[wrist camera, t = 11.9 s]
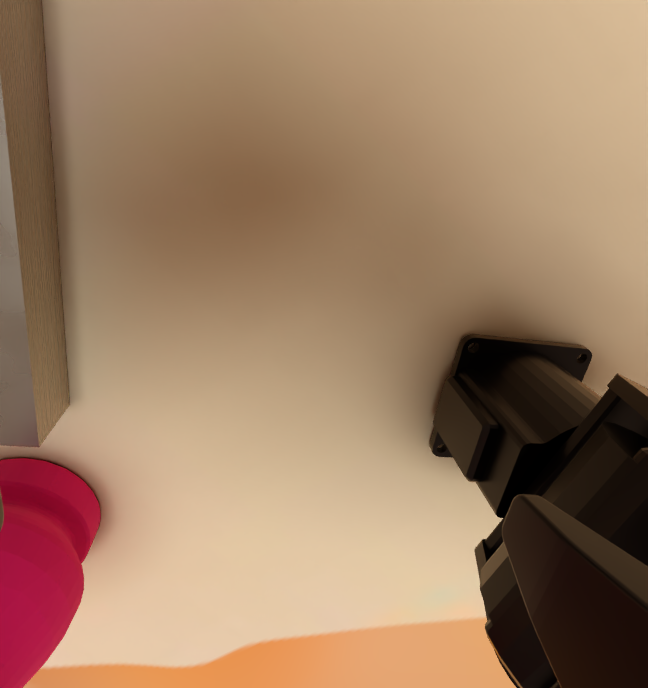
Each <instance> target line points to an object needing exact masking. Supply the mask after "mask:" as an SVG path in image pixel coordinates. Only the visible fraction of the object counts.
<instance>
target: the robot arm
mask: <svg viewBox="0 0 648 688" xmlns="http://www.w3.org/2000/svg"><path fill="white" fill-rule="evenodd" d="M471 343H475V346H474V347H473V348H472V349H468V347H469V345H470V344H471ZM580 354H581V357H580V358H578V359H577V357H578V356H579V355H580ZM591 358H592V353H591V352H590V350H588V349H587V348H585V347H584V346H581V345H572V344H563V343H553V342H543V341H534V340H524V339H515V338H505V337H496V336H486V335H477V334H469V335H467V336H465V337H464V338H463V339H462V340H461V342H460V344H459V347H458V350H457V354H456V357H455V360H454V364H453V367H452V371H451V374H450V376H449V377H448V378H447V379H446V380H445V383H444V387H443V390H442V394H441V397H440V400H439V404H438V407H437V411H436V414H435V417H434V421H433V424H434V426H435V427H434V431H433V434H432V438H431V441H430V448H431V450H432V452H433V454H434V455H436V456H439V457H453V458H454V459H455V461H456V463H457V464H458V466H459V468H460V469H461V471H462V473H463V475H464V476H465V477H466V479H467V480H468V481H469V482H476V483H477V485H478V487H479V488H480V490H481V491H482V493H483V495H484V496H485V498H486V499H487V501H488V503H489V504H490V506H491V507H492V509H493V511H494V512H495V514H496V515H497V517H500V518H503V519H502V521H501V522H500V523H499V524H498V525H497V527H496V528H495V529H494V530H493V532H492V533H491V534H490V535H489V537H488V538H487V539H483V540H482V541H481V542H480V543H479V544H478V546H477V547H476V548H475V555H476V561H477V566H478V572H479V578H480V590H481V594H482V597H483V600H484V605H485V611H486V616H487V623H486V624H485V629H486V633H487V637H488V639H489V641H490V643H491V644H492V646H493V648H494V650H495V653H496V655H497V657H498V659H499V662H500V663H501V665H502V667H503V668H504V670H505V672H506V673H507V675H508V676H509V678H510V679H511V681H512V682H513V683H514V685H515V686H516V687H517V688H648V389H647V388H645V387H643V386H641V385H639V384H637V383H635V382H633V381H631V380H629V379H627V378H625V377H623V376H621V375H619V374H616V375H615V377H614V378H613V379H612V380H611V382H610V383H609V384H608V385H607V386H608V387H609V389H608V390H607V392H606V393H605V394H604V395H603V397H602V398H601V397H600V396H599V395H598V394H596V393H595V392H594V391H592V390H591V389H590V388H588V387H587V386H586V385H584V384H583V383H582V380H583V377H584V375H585V373H586V370H587V368H588V366H589V363H590V361H591ZM441 444H444V445H443V446H442V447H440V448H438V446H439V445H441ZM3 521H4V510H3V503H2V497H1V490H0V531H1V528H2V525H3Z"/></svg>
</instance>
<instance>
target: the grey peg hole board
mask: <svg viewBox="0 0 648 688" xmlns="http://www.w3.org/2000/svg"><path fill="white" fill-rule="evenodd" d="M69 405H70V404H69V390H68V376H67V361H66V347H65V333H64V318H63V304H62V290H61V275H60V261H59V247H58V233H57V218H56V204H55V190H54V175H53V161H52V147H51V132H50V118H49V104H48V89H47V75H46V61H45V47H44V32H43V18H42V4H41V0H0V445H6V446H26V447H40V445H41V444H42V443H43V441H44V440H45V438H46V437H47V436H48V434H49V433H50V431H51V430H52V429H53V427H54V426H55V424H56V423H57V422H58V420H59V419H60V417H61V416H62V415H63V413H64V412H65V410H66V409H67V408H68V406H69Z"/></svg>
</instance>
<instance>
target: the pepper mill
mask: <svg viewBox="0 0 648 688" xmlns="http://www.w3.org/2000/svg"><path fill="white" fill-rule="evenodd" d="M0 490H1V497H2V503H3V510H4V521H3V525H2V528H1V531H0V688H23V687H24V685H25V684H26V683H27V682H28V681H29V680H30V679H31V678H32V677H33V676H34V674H35V673H36V672H37V671H38V670H39V669H40V668H41V667H42V666H43V665H44V663H45V662H46V661H47V660H48V658H49V657H50V655H51V654H52V653H53V651H54V650H55V648H56V647H57V646H58V644H59V643H60V641H61V640H62V639H63V637H64V635H65V633H66V631H67V629H68V627H69V625H70V623H71V621H72V619H73V617H74V615H75V613H76V611H77V609H78V607H79V605H80V602H81V598H82V594H83V590H84V575H83V569H82V565H81V563H82V562H83V561H84V559H85V557H86V556H87V554H88V551H89V549H90V547H91V544H92V542H93V540H94V537H95V535H96V533H97V530H98V527H99V524H100V518H101V514H100V507H99V503H98V501H97V499H96V497H95V495H94V493H93V491H92V490H91V489H90V488H89V487H88V485H87V484H86V483H85V482H84V481H83V480H82V479H80V478H79V477H78V476H76V475H75V474H73V473H72V472H70V471H69V470H67V469H66V468H63V467H60V466H57V465H55V464H52V463H49V462H47V461H43V460H35V459H27V458H17V459H4V460H0Z"/></svg>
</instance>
